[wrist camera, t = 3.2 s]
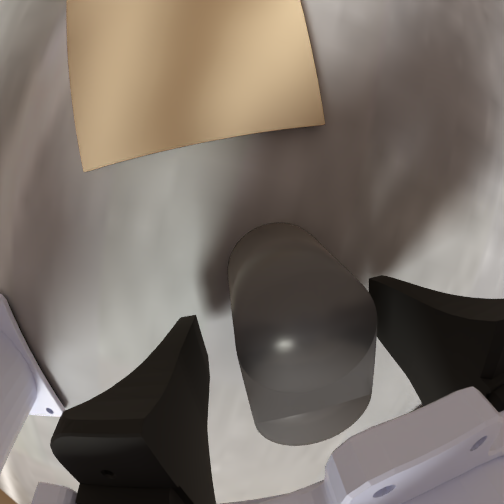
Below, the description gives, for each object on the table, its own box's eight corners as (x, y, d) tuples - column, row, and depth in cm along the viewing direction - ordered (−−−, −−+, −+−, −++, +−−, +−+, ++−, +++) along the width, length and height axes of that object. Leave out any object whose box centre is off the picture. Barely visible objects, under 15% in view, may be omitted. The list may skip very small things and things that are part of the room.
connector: (218, 233, 12) (221, 289, 7) (319, 214, 12) (378, 256, 8) (255, 399, 15) (269, 477, 10) (329, 382, 15) (362, 453, 11)
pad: (89, 171, 11) (83, 172, 10) (72, -16, 8) (67, -22, 7) (320, 125, 11) (325, 124, 11) (278, -57, 8) (281, -64, 8)
